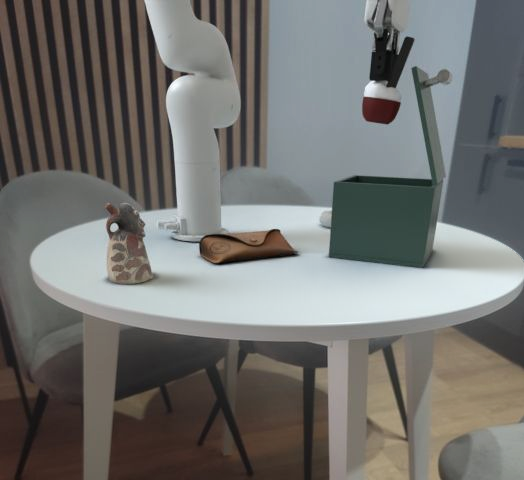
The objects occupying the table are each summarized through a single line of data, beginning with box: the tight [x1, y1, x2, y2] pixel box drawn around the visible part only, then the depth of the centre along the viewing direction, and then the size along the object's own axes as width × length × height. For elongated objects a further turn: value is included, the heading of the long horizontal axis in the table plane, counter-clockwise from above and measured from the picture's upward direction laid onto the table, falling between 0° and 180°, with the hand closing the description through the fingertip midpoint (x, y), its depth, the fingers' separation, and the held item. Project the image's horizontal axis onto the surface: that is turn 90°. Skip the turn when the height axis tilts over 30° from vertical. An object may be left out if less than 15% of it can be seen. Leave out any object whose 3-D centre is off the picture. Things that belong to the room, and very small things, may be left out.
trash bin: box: [328, 174, 444, 269], centre depth 96 cm, size 18×15×14 cm
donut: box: [318, 209, 332, 229], centre depth 124 cm, size 10×4×10 cm
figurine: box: [104, 202, 154, 285], centre depth 79 cm, size 7×7×12 cm
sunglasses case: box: [198, 228, 298, 264], centre depth 96 cm, size 18×7×7 cm
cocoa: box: [361, 35, 416, 126], centre depth 81 cm, size 10×6×12 cm, turn 173°
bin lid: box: [411, 65, 453, 185], centre depth 86 cm, size 18×15×5 cm
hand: (382, 80), depth 81 cm, fingers closed on cocoa, 3 cm apart
